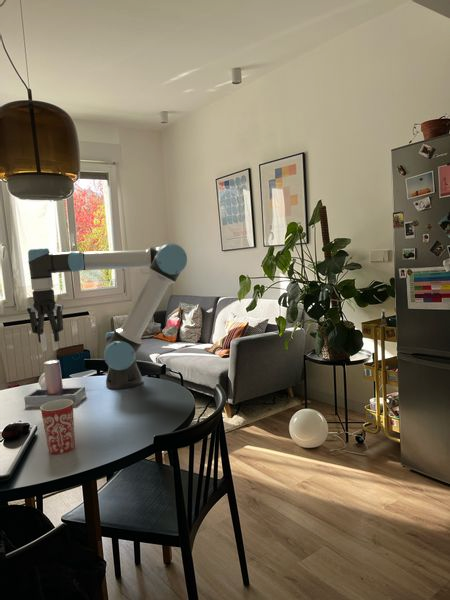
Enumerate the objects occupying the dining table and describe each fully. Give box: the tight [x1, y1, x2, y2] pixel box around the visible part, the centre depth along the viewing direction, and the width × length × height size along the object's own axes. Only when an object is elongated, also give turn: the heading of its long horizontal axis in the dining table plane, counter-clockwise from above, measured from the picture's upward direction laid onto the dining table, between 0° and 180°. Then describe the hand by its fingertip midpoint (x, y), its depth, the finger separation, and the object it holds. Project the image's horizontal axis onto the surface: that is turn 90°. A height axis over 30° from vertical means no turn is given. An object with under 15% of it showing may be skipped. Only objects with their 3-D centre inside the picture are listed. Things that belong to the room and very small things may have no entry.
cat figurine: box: [38, 372, 46, 389], centre depth 192 cm, size 10×8×15 cm
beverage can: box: [43, 359, 64, 395], centre depth 175 cm, size 6×6×15 cm
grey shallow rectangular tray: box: [24, 386, 87, 409], centre depth 176 cm, size 20×10×4 cm, turn 85°
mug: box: [39, 399, 76, 455], centre depth 133 cm, size 13×9×14 cm
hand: (50, 350), depth 174 cm, fingers open, 4 cm apart
